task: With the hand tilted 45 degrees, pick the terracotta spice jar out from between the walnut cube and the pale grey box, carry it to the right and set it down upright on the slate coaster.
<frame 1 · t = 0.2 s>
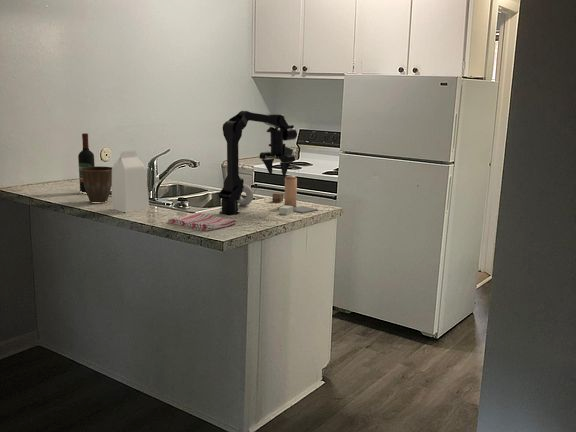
hand: (277, 175, 280), 14 cm above the countertop, tool pointing down, fingers open, 9 cm apart
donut: (243, 205, 282), on the countertop
walnut cube: (277, 201, 294), on the countertop
plant pot: (99, 202, 284), on the countertop
milk: (130, 209, 269), on the countertop
dish towel: (202, 225, 244), on the countertop
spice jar: (290, 205, 284), on the countertop
grey box: (286, 213, 267), on the countertop
slate coaster: (302, 210, 274), on the countertop
wine bottle: (88, 193, 307), on the countertop
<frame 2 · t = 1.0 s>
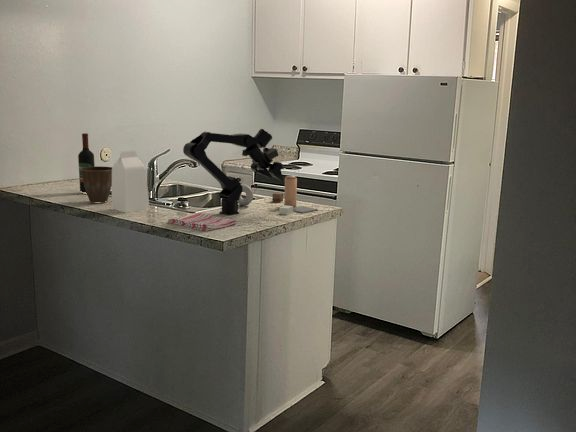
hand: (276, 178, 276), 13 cm above the countertop, tool tilted 45°, fingers open, 9 cm apart
nothing on the countertop moved.
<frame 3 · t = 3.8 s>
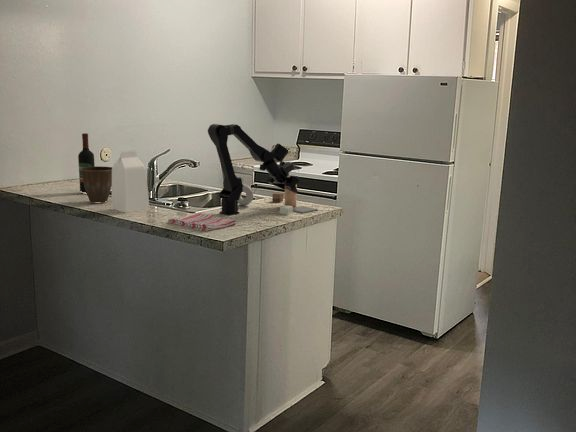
hand: (293, 191, 283), 7 cm above the countertop, tool tilted 45°, fingers closed on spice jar, 6 cm apart
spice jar: (290, 205, 284), on the countertop, touching gripper
everything else where it was.
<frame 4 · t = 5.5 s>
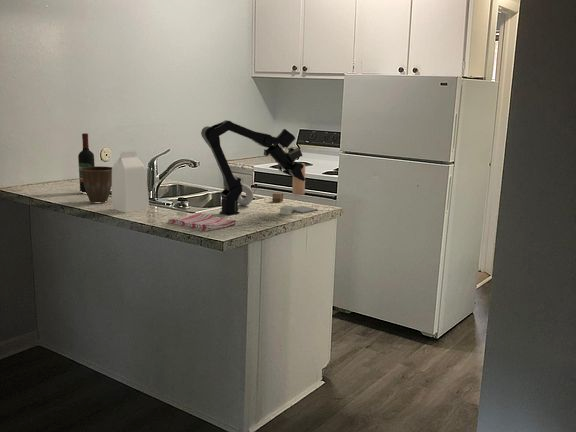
hand: (301, 179, 275), 14 cm above the countertop, tool tilted 45°, fingers closed on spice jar, 6 cm apart
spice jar: (298, 193, 276), point 7 cm above the countertop, touching gripper
everything else where it was.
when the fingers open (8 cm above the countertop, at t = 7.1 s): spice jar drops 1 cm, resting on slate coaster.
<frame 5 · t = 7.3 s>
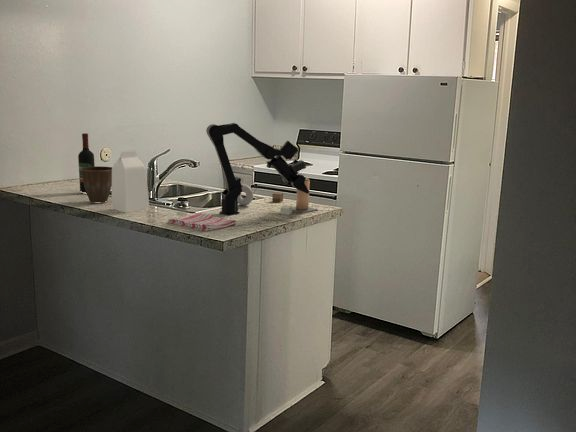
hand: (305, 191, 273), 9 cm above the countertop, tool tilted 45°, fingers open, 8 cm apart
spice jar: (302, 208, 274), point 1 cm above the countertop, touching slate coaster
everything else where it was.
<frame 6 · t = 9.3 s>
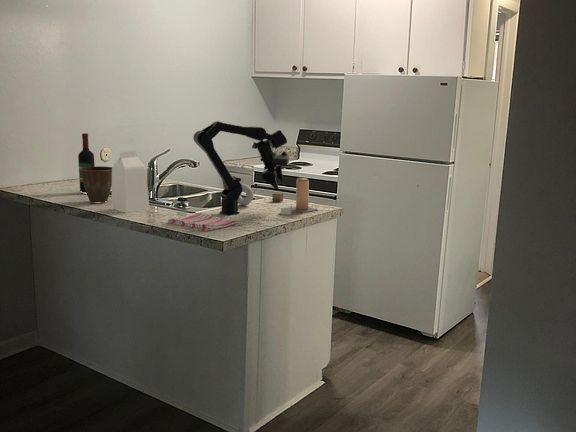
hand: (279, 184, 272), 11 cm above the countertop, tool tilted 25°, fingers open, 9 cm apart
nothing on the countertop moved.
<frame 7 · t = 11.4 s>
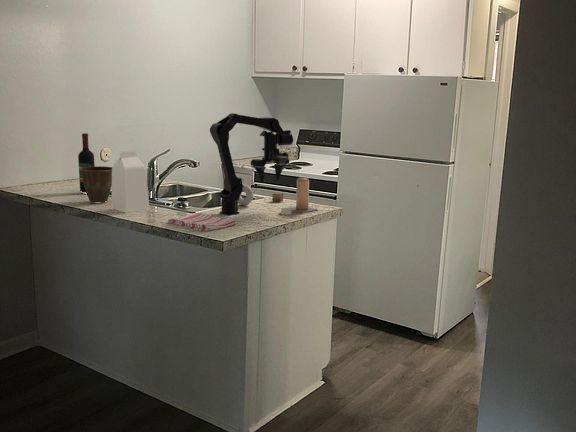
hand: (270, 180, 272), 13 cm above the countertop, tool pointing down, fingers open, 9 cm apart
nothing on the countertop moved.
at the end: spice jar inside the target area on the slate coaster (0.1 cm from its centre), point 0.6 cm above the slate coaster's base; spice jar tilted 1°; the gripper is holding nothing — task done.
